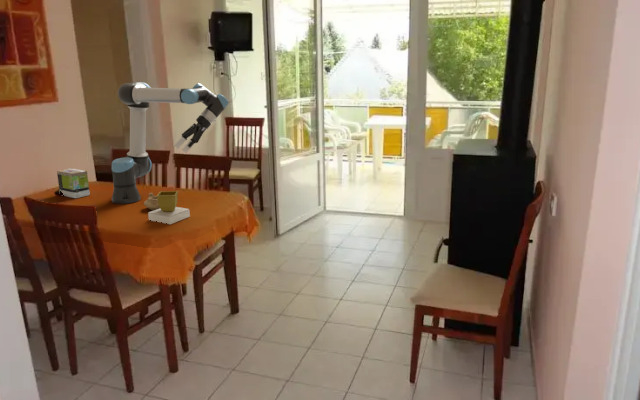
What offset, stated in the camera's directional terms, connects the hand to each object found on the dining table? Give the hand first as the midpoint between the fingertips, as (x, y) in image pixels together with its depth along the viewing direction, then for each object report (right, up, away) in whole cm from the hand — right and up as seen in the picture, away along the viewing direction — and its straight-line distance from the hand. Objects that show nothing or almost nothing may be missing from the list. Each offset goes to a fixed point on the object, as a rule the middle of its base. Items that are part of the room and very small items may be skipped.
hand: (179, 149), depth 266 cm
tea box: (-69, -24, +28) cm, 79 cm away
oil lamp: (-12, -32, +2) cm, 34 cm away
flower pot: (-2, -32, -14) cm, 35 cm away
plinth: (-1, -36, -13) cm, 38 cm away
